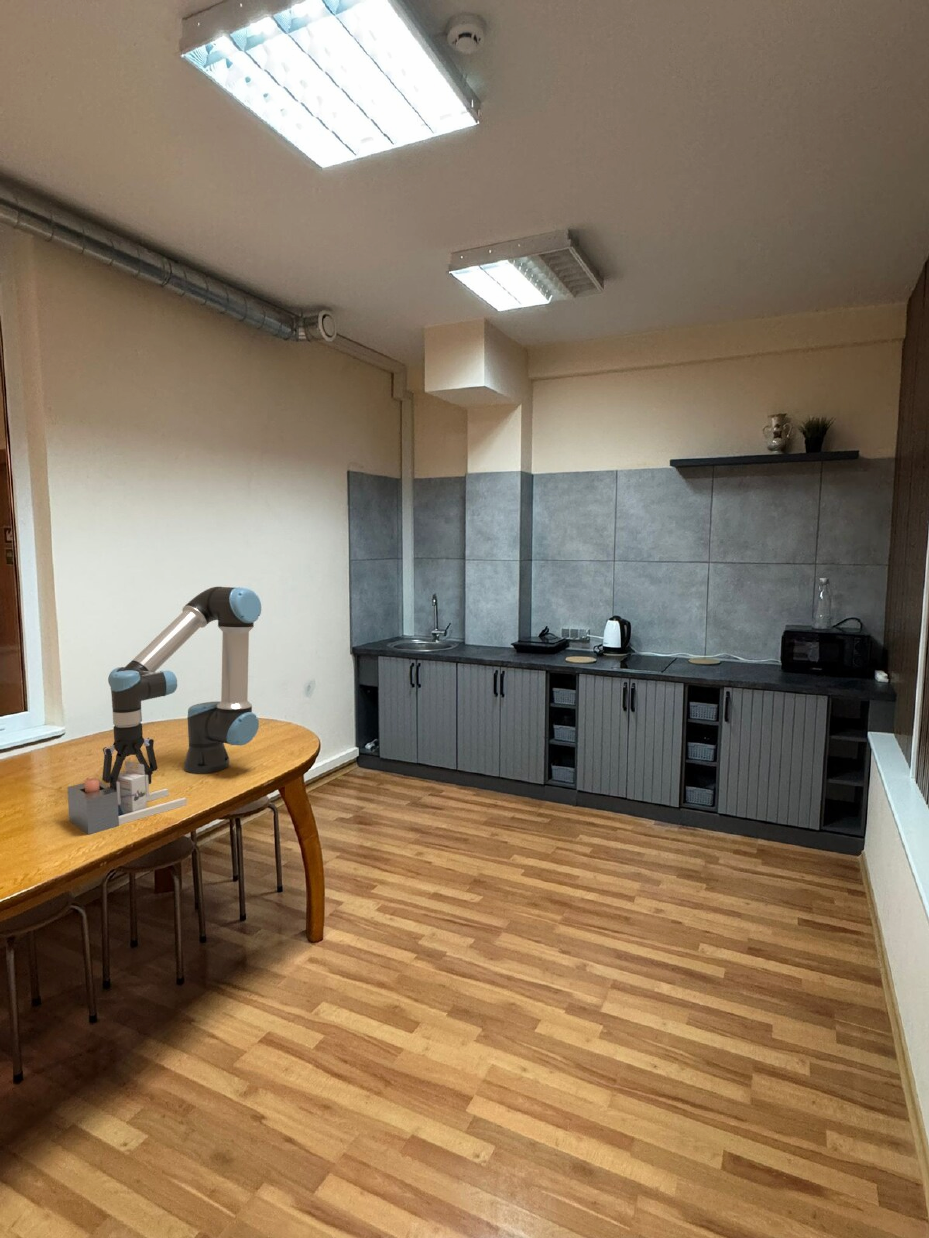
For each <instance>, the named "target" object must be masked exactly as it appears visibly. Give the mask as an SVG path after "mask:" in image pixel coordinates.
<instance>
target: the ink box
mask: <svg viewBox="0 0 929 1238" xmlns="http://www.w3.org/2000/svg"><path fill="white" fill-rule="evenodd" d="M124 768H125V770H124V771H120V773H119V776H118V779H117V781H118V782H120V799H121V804H119V805H118V815H119V816H121V815H125V814H128V813H132V812H135V811H139V810H142V809H145V808H147V802H146V790H145V774H144V773H145V772H144V765H143V764H140V763H139V762H133V761H128V760H124Z"/></svg>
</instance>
